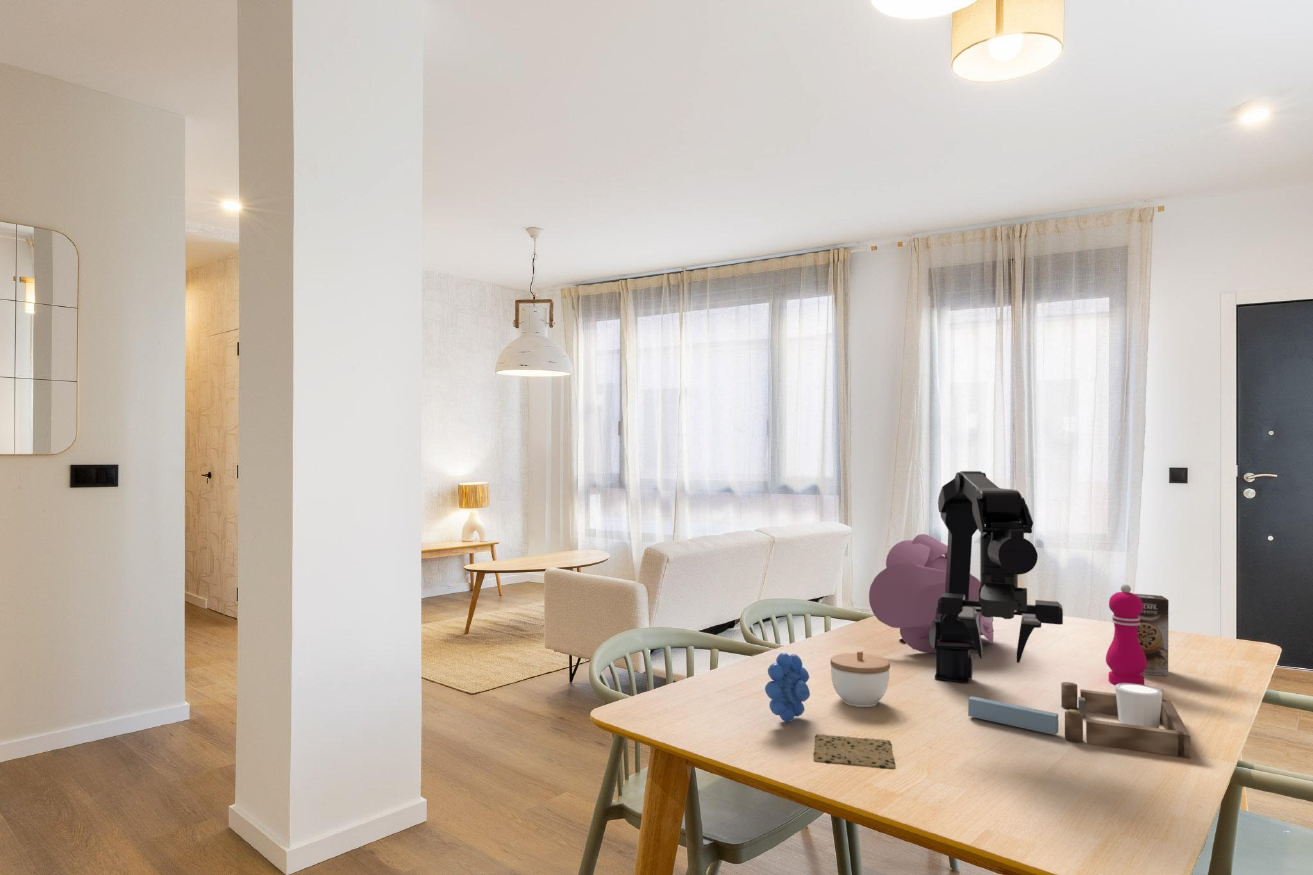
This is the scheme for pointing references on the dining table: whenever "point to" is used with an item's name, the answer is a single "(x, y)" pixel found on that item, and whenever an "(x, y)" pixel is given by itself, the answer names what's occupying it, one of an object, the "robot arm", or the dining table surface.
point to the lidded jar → (860, 678)
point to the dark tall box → (1154, 633)
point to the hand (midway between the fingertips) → (999, 660)
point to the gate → (1013, 715)
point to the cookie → (853, 751)
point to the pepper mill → (1126, 639)
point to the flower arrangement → (916, 591)
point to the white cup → (1138, 704)
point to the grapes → (787, 686)
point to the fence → (1118, 734)
